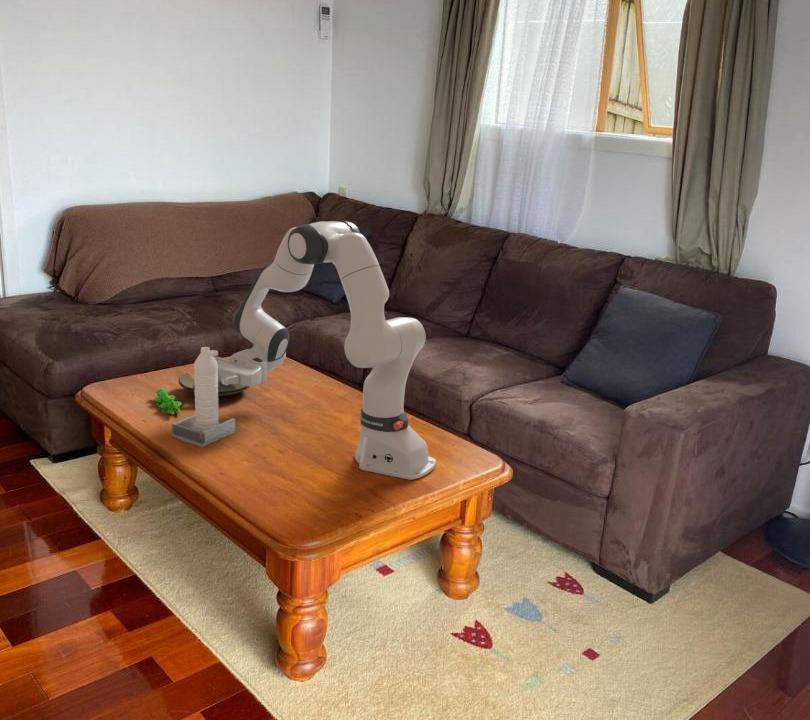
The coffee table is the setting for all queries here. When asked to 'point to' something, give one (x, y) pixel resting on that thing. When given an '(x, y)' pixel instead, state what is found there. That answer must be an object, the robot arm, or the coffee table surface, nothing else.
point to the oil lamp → (225, 390)
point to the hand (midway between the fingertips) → (211, 378)
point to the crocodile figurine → (167, 402)
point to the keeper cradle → (188, 431)
